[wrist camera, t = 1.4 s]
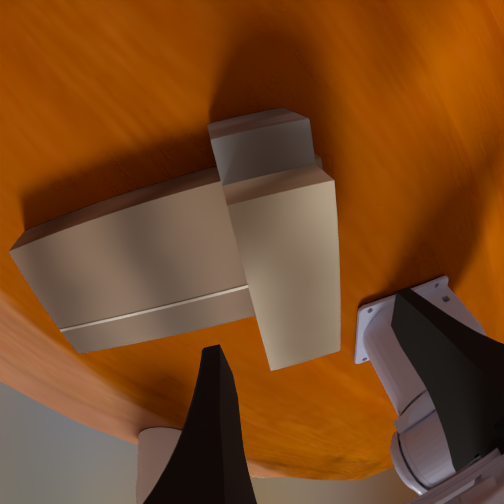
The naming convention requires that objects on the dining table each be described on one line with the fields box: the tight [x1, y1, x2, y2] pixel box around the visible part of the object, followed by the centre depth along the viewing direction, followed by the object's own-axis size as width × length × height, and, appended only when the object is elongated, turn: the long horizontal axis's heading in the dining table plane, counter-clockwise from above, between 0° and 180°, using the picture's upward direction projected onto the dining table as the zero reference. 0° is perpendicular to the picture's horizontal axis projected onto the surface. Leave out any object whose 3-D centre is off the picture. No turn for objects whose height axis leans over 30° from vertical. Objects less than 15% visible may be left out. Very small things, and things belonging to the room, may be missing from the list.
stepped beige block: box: [207, 108, 340, 371], centre depth 16 cm, size 4×12×6 cm, turn 11°
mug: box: [136, 427, 182, 504], centre depth 28 cm, size 10×7×12 cm, turn 132°
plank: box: [9, 153, 323, 354], centre depth 18 cm, size 18×9×2 cm, turn 101°
